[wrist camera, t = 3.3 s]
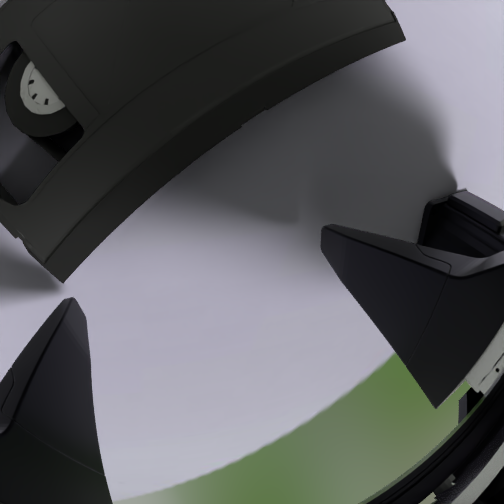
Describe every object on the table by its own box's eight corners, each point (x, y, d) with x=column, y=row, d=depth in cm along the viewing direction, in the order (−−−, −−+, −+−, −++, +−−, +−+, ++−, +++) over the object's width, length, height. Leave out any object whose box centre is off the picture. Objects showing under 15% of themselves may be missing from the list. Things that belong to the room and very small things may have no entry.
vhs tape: (277, -91, 3) (302, -111, 2) (370, 42, 8) (406, 40, 6) (-45, 107, 3) (-76, 113, 2) (74, 251, 8) (63, 283, 7)
